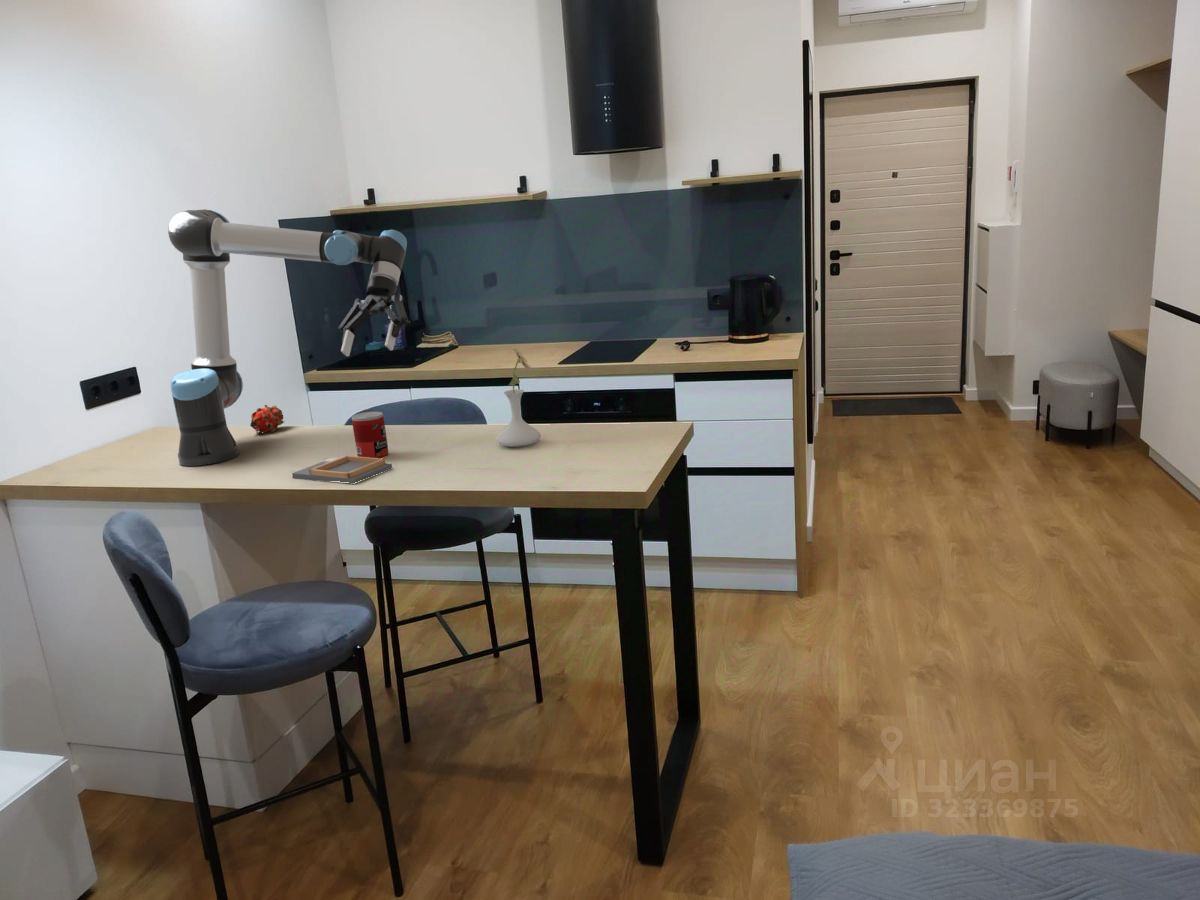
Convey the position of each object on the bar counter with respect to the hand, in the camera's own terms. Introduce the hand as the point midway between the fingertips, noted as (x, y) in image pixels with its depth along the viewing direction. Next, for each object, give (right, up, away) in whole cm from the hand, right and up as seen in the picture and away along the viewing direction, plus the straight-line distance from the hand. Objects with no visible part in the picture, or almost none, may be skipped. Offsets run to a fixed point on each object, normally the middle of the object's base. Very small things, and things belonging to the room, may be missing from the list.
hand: (366, 350), depth 238 cm
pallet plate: (-2, -31, -14) cm, 34 cm away
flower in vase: (+40, -24, 0) cm, 46 cm away
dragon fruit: (-39, -20, +38) cm, 58 cm away
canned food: (+2, -27, -1) cm, 27 cm away
